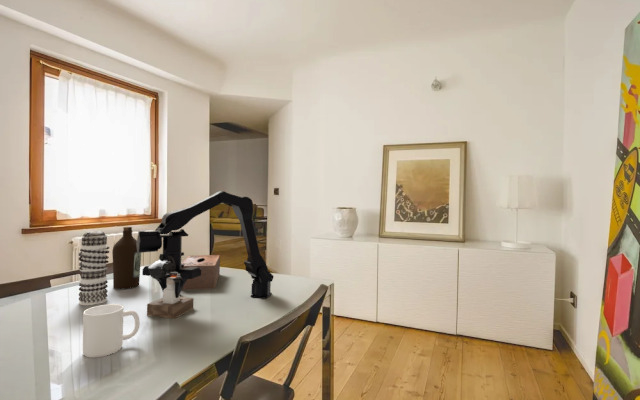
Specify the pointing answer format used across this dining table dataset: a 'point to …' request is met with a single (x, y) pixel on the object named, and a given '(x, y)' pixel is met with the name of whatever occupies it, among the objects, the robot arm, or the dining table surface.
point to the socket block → (169, 308)
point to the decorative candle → (93, 268)
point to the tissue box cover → (203, 271)
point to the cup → (105, 329)
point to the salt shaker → (170, 292)
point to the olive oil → (126, 261)
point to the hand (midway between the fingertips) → (171, 297)
